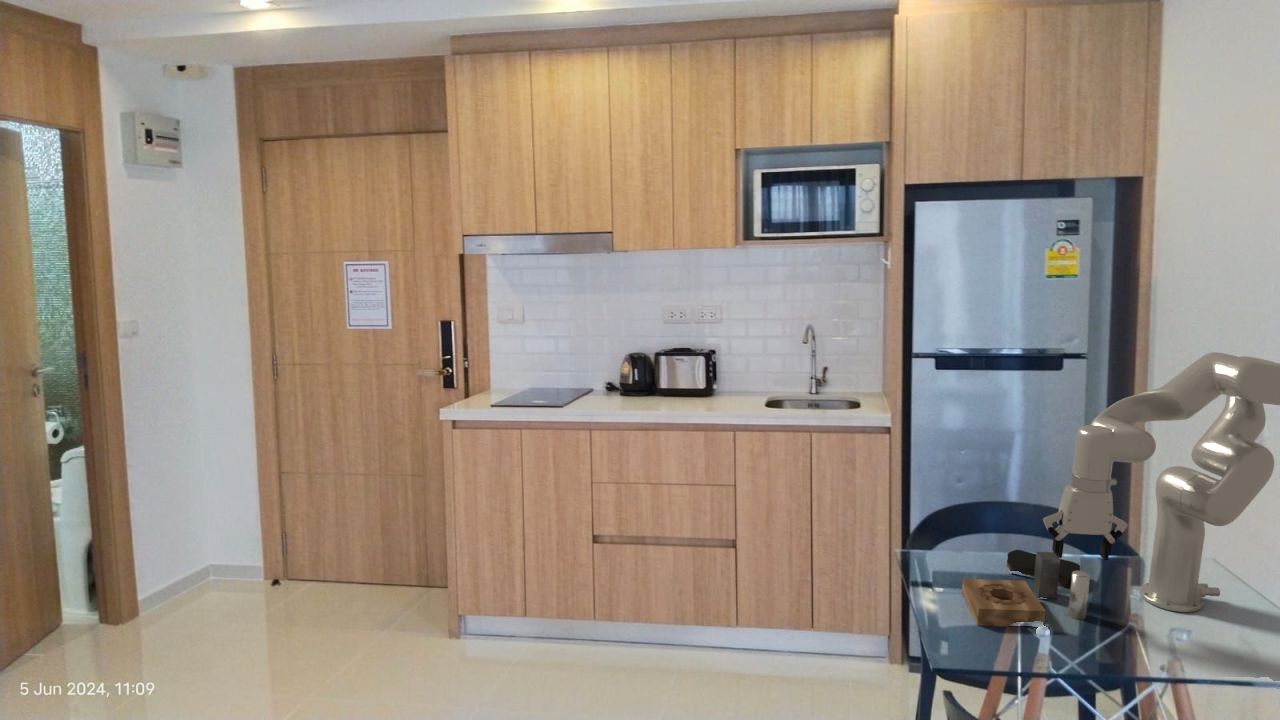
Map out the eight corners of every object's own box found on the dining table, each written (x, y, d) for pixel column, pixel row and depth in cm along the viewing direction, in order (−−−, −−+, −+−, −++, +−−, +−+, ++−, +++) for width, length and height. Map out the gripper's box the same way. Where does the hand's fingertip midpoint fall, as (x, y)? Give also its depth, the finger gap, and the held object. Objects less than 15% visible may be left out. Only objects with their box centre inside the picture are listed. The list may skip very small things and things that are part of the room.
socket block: (1023, 596, 209) (1024, 580, 208) (1043, 627, 195) (1045, 611, 194) (961, 594, 210) (962, 578, 209) (977, 625, 196) (978, 608, 196)
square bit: (1050, 591, 211) (1054, 552, 208) (1056, 599, 207) (1060, 559, 205) (1032, 590, 211) (1036, 551, 209) (1038, 599, 207) (1042, 559, 205)
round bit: (1082, 611, 201) (1086, 570, 199) (1088, 619, 198) (1092, 578, 196) (1065, 611, 202) (1069, 570, 200) (1071, 619, 198) (1075, 577, 196)
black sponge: (1081, 577, 218) (1082, 563, 217) (1073, 591, 211) (1075, 577, 210) (1010, 561, 227) (1011, 547, 226) (1001, 573, 221) (1002, 560, 220)
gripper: (1124, 478, 195) (1114, 551, 199) (1042, 475, 197) (1034, 547, 201) (1139, 491, 188) (1129, 566, 192) (1054, 487, 190) (1045, 561, 194)
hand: (1080, 556), depth 196 cm, fingers open, 9 cm apart
